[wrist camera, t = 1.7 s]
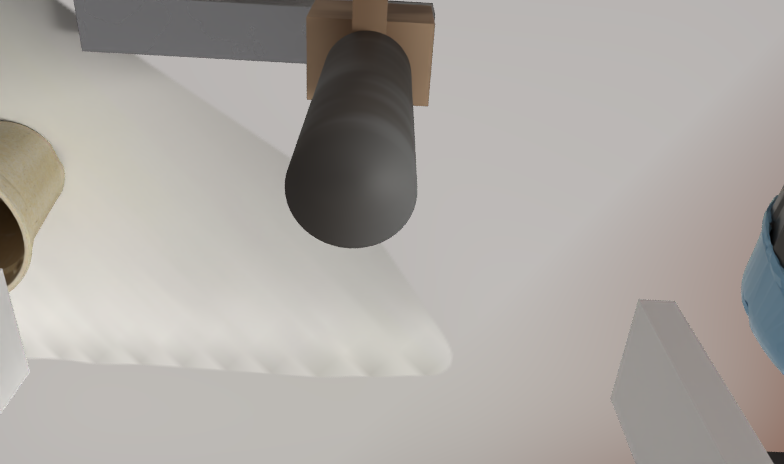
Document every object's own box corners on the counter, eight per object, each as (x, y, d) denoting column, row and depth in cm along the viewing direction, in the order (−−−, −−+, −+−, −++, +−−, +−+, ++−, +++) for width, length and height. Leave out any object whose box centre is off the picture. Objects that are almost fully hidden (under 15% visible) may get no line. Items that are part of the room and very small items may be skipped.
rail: (432, 3, 39) (434, 14, 36) (428, 55, 40) (430, 70, 38) (94, -17, 38) (72, -7, 36) (102, 37, 40) (82, 51, 37)
